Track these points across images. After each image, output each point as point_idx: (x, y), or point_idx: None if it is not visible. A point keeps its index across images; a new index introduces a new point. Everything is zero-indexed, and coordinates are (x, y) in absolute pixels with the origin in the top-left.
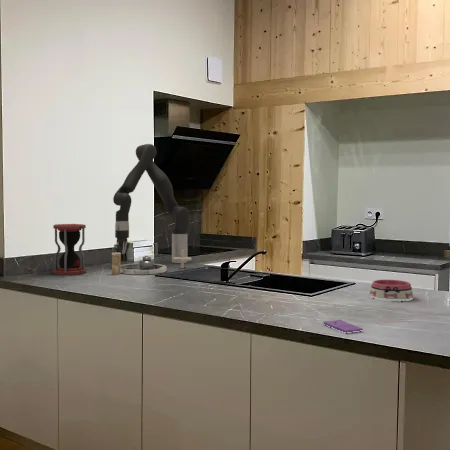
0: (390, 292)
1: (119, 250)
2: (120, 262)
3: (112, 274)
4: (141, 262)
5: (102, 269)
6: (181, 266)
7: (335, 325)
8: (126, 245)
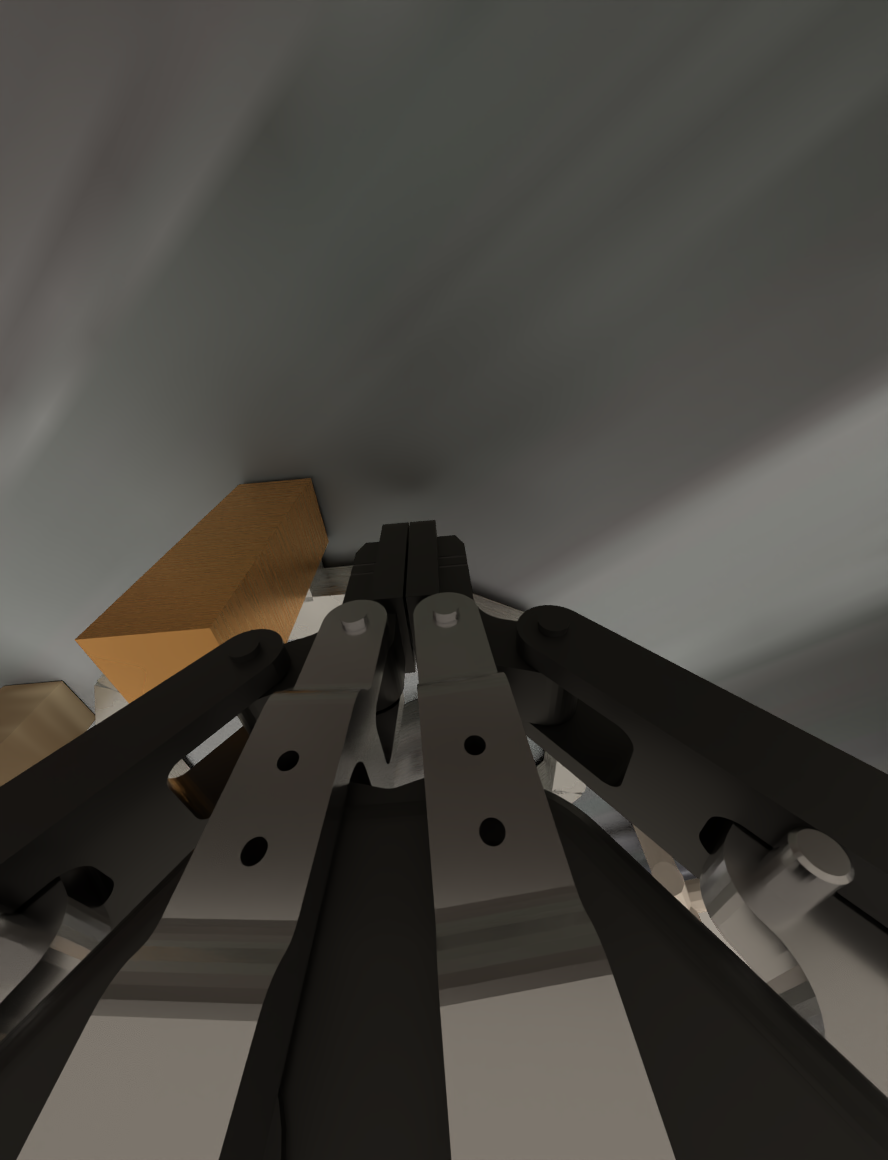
0: None
1: (186, 789)
2: (305, 590)
3: (7, 690)
4: None
5: (66, 323)
6: (639, 837)
7: None
8: (706, 863)
